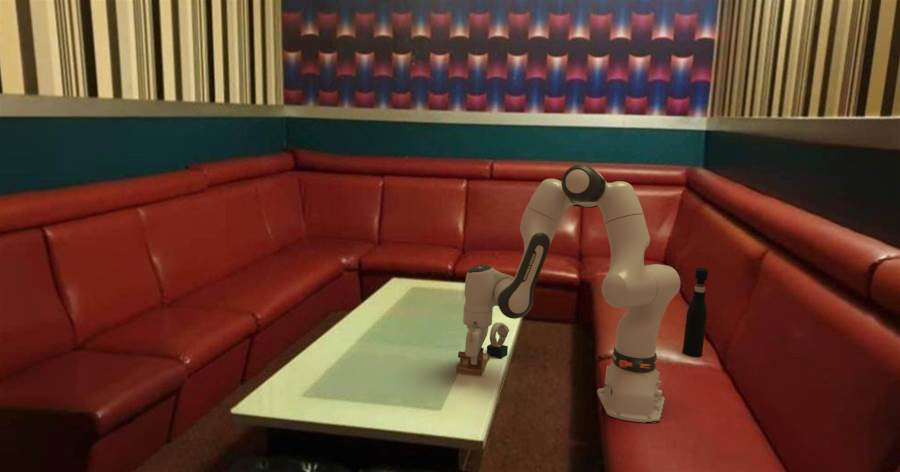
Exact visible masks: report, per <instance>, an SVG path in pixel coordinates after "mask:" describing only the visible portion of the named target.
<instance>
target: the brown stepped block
mask: <svg viewBox="0 0 900 472" xmlns="http://www.w3.org/2000/svg"><path fill="white" fill-rule="evenodd" d="M483 353H484V347H482V348H481V349H480V351H479V353H478V356H477V358H478V362H477V364H476V365H474V364H471V357H467V356H466V355H465V351H458V353H457V358H458V359H459V361H460V363H462V358H465V359H468V368H473V369H481V368H482V365H483Z"/></svg>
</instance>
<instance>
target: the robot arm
mask: <svg viewBox="0 0 900 472" xmlns="http://www.w3.org/2000/svg"><path fill="white" fill-rule="evenodd" d="M572 206H573V207H577V208H578V207H579V208H587V209H593V208H597V207H598V208H599V210H600V211H601V213H602V218H603V222H604V226H605V229H606V234H607V238H608V243H609V249H610V263H609V269H608V272H607V273H606V276H605V277H604V278H603V281H602V284H601V292H602V296H603V299H604V300H605V301H606V303H607V304H608V305H609V306H611V307H613V308H617V309H618V308H619V309H627V311H626V312H625V314H623V315H622V317H621V318H620V319H619V320H618V322H617V328H616V329H617V330H616V338H615V339H616V340H615V347H614V348H613V351H612V362H611V363H609V365H607V366H606V368H605V369H606V370H605V376H604V377H605V379H604V385H603V386H604V387H602V388H598V389H597V392H596V393H597V396H598V399H599V400H600V402H601V405H602V407H603V408H604V411H605V413H606V415H607V416H610V417H612V418H615V419H618V420H623V421H629V422H637V423H646V422H652V421H659V420H660V421H661V419H660V417H661V418H662V415H661V413H662V414H663V410H662V409H664V406H665V402H666V401H665V400H666V399H665V397H664V396H662V395H663V390H662V389H659V386H660V387H661V385H662V380H660V374H661V373H660V371H659V370H658V369H657V361H658V359H657V358H658V357H657V353H656V351H657V343H658V342H657V341H658V335H659V329H660V326H661V324H662V323H661V322H662V320H663V318H664V315H665V312H666V310H667V309H668V306H669V304H670V303H671V301H672V300H673V299H674V298H675V296H676V295H677V294H678V293H679V291H680V289H681V278H680V275H679V273H678V272H677V270H676V269H675V268H673V267H672V266H670V265H666V264H659V263H655V264H646V265H645V260H644V259H645V251H646V249H647V248H648V247H649V245H650V244H651V243H650V242H651V236H650V233H649V230H648V225H647V223H646V218H645V214H644V210H643V208H642V205H641V202H640V200H639V197H638V195H637V192H636V190H635V188H634V187H633V186H632V184H630V183H629V182H626V181H622V180H621V181H613V182H607V180H606V179H605V177H604V176H602V174H601V173H600V172H599V170H596V169H594V168H593V167H591V166H589V165H588V164H587V165H586V164H576V165H573V166H571V167H569V168H568V169H566V171H565V172H564V174H563V175H562V178H561V180H559V179H557V178H547V179H544V180H542V182H540V184H539V185H538V187H537V188H536V189H535V191H534V193H533V194H532V196H531V198H530V200H529V201H528V204H527V206H526V208H525V210H524V212H523V214H522V218H521V221H520V225H519V229H520V234H521V237H522V239H523V254H522V258H521V261H520V263H519V265H518V269H517V271H516V273H515V275H514V276H513V275H510V274H507V273H503V272H500V271H498V270H497V269H495V268H494V267H493V266H491V265H489V264H477V265H474V266H473V267H471V268H469V269H468V271H467V272H466V276H465V283H464V293H463V294H464V299H465V302H464V305H463V317H462V318H463V319H462V323H463V324H464V325H465V326H466V327H467V328H466V329H468V330H467V331H466V337H465V347H464V349H465V350H464V352H465V355H466V356H467V357H471V364H474V365H476V364H477V362H478V358H477V356H478V353H479V351H480V349H481V348H483V344H484V342H485V341H486V338H487V336H488V332H489V327H490V326H491V325H493V315H494V314H493V311H494V307H498V309H499V310H500V312H501V314H502V315H503V316H505V317H507V318H509V319H513V320H518V319H521V318H523V317H525V316H526V315H528V313H529V312H531V310H532V307H533V304H534V293H535V288H536V285H537V282H538V281H539V280H538V279H539V278H540V277H539V276H540V275H541V272H542V269H543V267H544V264H545V262H546V259H547V257H548V253H549V250H550V246H551V244H552V241H553V239H554V237H555V234H556V233H557V229H559V226H560V223H561V222H562V220H563V217H564V215H565V213H566V212H567V210H568V209H569V208H570V207H572ZM664 401H665V402H664ZM663 405H664V406H663ZM660 421H659V422H660ZM652 423H653V422H652Z"/></svg>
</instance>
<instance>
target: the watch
mask: <svg viewBox="0 0 900 472" xmlns="http://www.w3.org/2000/svg"><path fill="white" fill-rule="evenodd" d="M509 333H510V328H509V327H508V325H506V324H505V323H503V322H500V321H499V322H494V324H492V326H491V329H490V332H489V343H490V344H488V345H486V354H489V357H492V358H496V359H500V360H502V359H503V358H505V357H506V356H508V352H509V351H508V349H509V346H508V345H505V341H506V339H507V337H508V334H509ZM497 335H498V340H497V337H496V336H497Z"/></svg>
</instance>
